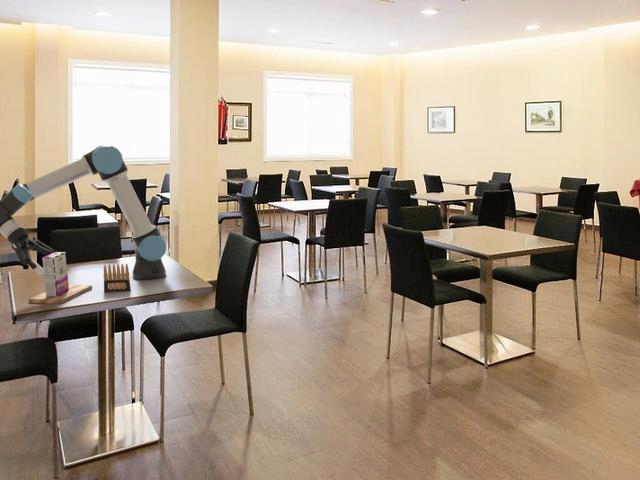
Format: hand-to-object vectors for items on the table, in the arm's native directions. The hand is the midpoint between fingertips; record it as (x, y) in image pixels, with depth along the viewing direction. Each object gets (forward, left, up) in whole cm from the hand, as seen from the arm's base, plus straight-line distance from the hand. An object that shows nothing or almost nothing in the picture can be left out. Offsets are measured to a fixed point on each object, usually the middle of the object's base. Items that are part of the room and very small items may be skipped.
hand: (52, 269), depth 247 cm
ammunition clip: (-21, -12, -12) cm, 27 cm away
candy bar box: (-1, 0, -10) cm, 10 cm away
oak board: (-1, -3, -12) cm, 12 cm away
